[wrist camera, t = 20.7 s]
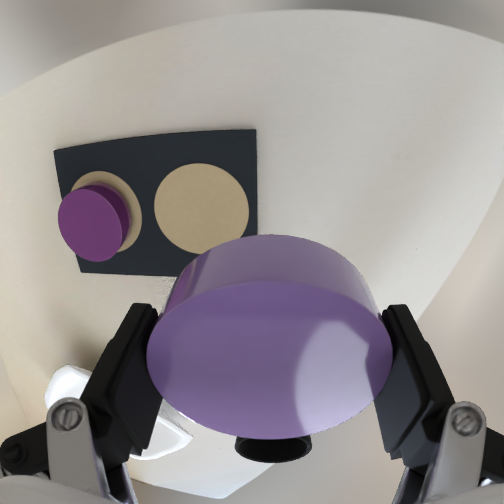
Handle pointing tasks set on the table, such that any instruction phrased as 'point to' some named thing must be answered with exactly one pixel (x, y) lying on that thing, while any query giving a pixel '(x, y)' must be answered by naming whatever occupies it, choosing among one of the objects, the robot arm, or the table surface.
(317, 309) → the lavender short cylinder
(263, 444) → the cup
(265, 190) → the table surface
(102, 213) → the purple short cylinder
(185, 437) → the bowl
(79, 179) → the placemat
